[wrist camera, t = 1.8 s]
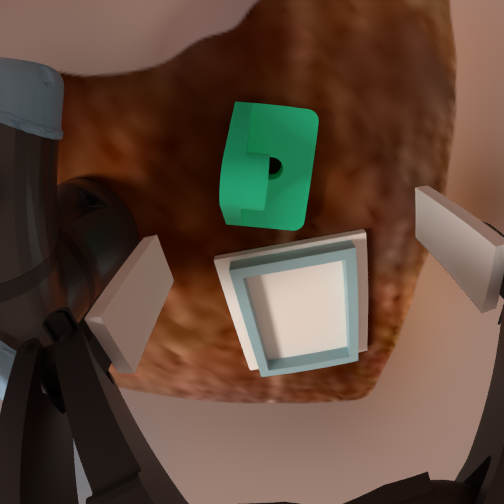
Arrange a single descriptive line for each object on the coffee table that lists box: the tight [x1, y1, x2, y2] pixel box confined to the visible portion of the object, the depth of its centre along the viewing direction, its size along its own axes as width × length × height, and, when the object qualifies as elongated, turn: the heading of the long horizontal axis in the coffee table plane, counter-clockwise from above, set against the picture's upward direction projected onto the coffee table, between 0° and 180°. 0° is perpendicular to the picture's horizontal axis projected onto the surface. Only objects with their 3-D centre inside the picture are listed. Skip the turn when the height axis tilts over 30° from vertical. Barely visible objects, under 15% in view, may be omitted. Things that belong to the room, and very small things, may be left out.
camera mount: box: [219, 102, 319, 231], centre depth 26 cm, size 12×8×10 cm, turn 175°
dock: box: [214, 229, 368, 377], centre depth 37 cm, size 17×18×3 cm
